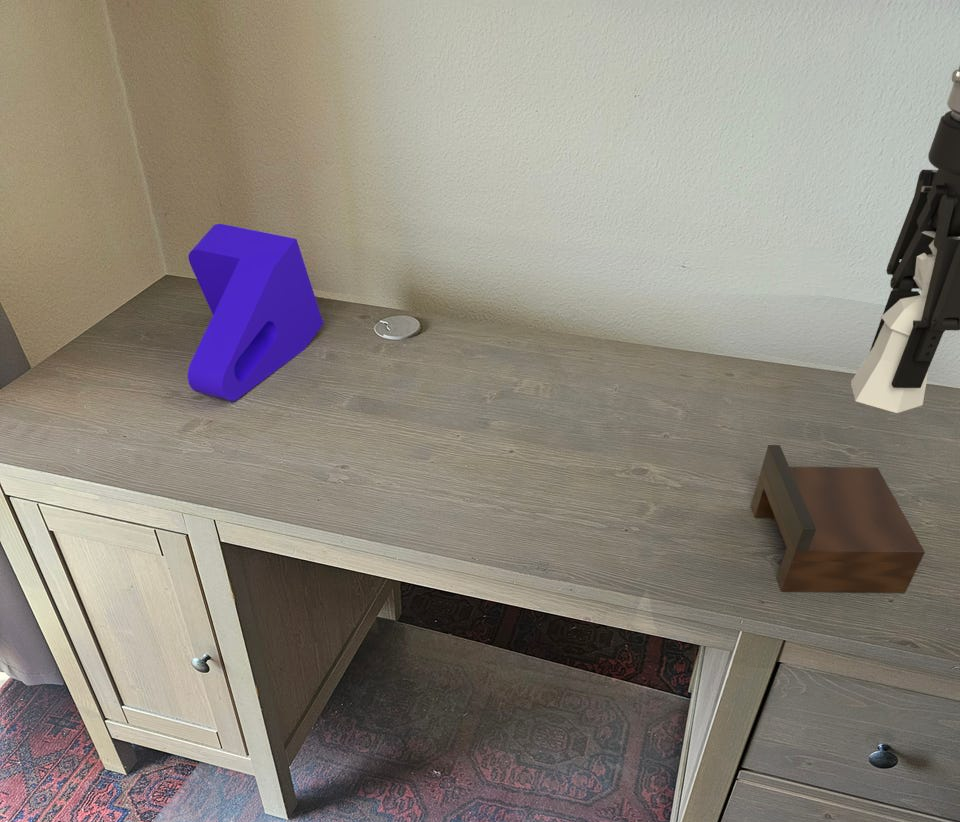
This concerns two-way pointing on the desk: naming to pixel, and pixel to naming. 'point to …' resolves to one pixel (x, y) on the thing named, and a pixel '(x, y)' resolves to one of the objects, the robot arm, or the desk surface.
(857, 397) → the figurine
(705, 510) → the desk surface
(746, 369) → the desk surface
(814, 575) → the brown wooden block
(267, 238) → the bracket
